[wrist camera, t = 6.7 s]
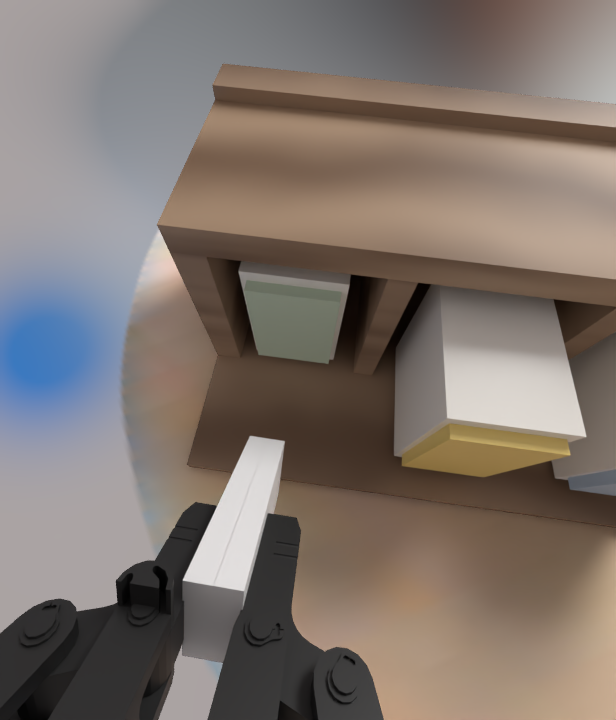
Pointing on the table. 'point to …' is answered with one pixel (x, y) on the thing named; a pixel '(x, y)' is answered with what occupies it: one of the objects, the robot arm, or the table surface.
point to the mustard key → (483, 384)
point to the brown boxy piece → (387, 257)
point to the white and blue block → (593, 421)
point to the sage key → (294, 310)
